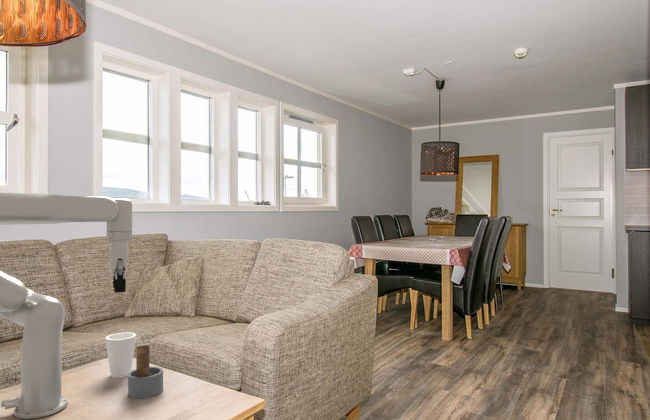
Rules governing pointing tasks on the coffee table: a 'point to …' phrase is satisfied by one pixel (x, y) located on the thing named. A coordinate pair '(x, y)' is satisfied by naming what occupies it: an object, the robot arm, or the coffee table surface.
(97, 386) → the coffee table surface
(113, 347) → the foam cup
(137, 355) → the brown wooden bar
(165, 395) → the coffee table surface
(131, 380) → the faceted hollow tube
